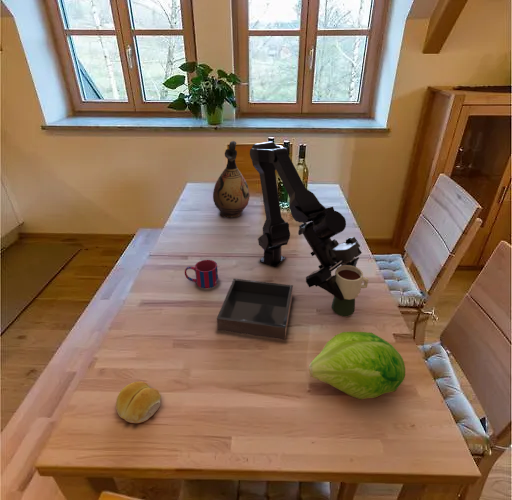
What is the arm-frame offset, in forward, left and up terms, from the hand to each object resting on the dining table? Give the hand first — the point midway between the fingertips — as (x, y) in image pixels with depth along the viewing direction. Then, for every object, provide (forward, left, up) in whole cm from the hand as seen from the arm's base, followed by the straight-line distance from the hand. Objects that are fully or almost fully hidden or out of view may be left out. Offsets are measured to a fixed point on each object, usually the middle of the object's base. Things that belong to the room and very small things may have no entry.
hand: (350, 293), depth 94 cm
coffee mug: (0, -1, -7) cm, 7 cm away
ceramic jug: (-37, -65, -8) cm, 76 cm away
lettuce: (+21, +9, -8) cm, 24 cm away
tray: (+13, -21, -8) cm, 26 cm away
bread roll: (+50, -27, -8) cm, 57 cm away
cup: (+10, -43, -8) cm, 45 cm away
